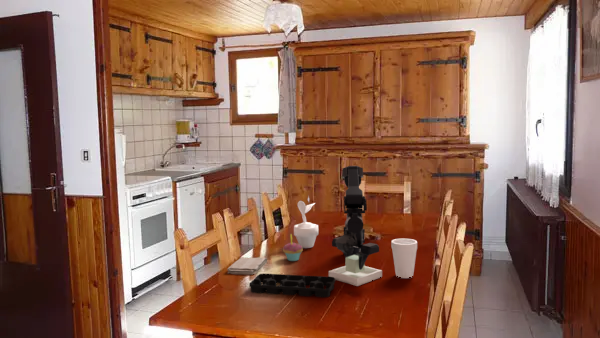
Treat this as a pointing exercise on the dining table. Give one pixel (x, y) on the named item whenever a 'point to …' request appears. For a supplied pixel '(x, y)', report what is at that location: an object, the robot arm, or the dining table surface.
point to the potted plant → (305, 227)
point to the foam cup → (404, 256)
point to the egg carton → (293, 284)
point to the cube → (353, 264)
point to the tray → (355, 275)
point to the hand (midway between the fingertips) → (355, 267)
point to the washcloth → (247, 266)
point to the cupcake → (292, 250)
